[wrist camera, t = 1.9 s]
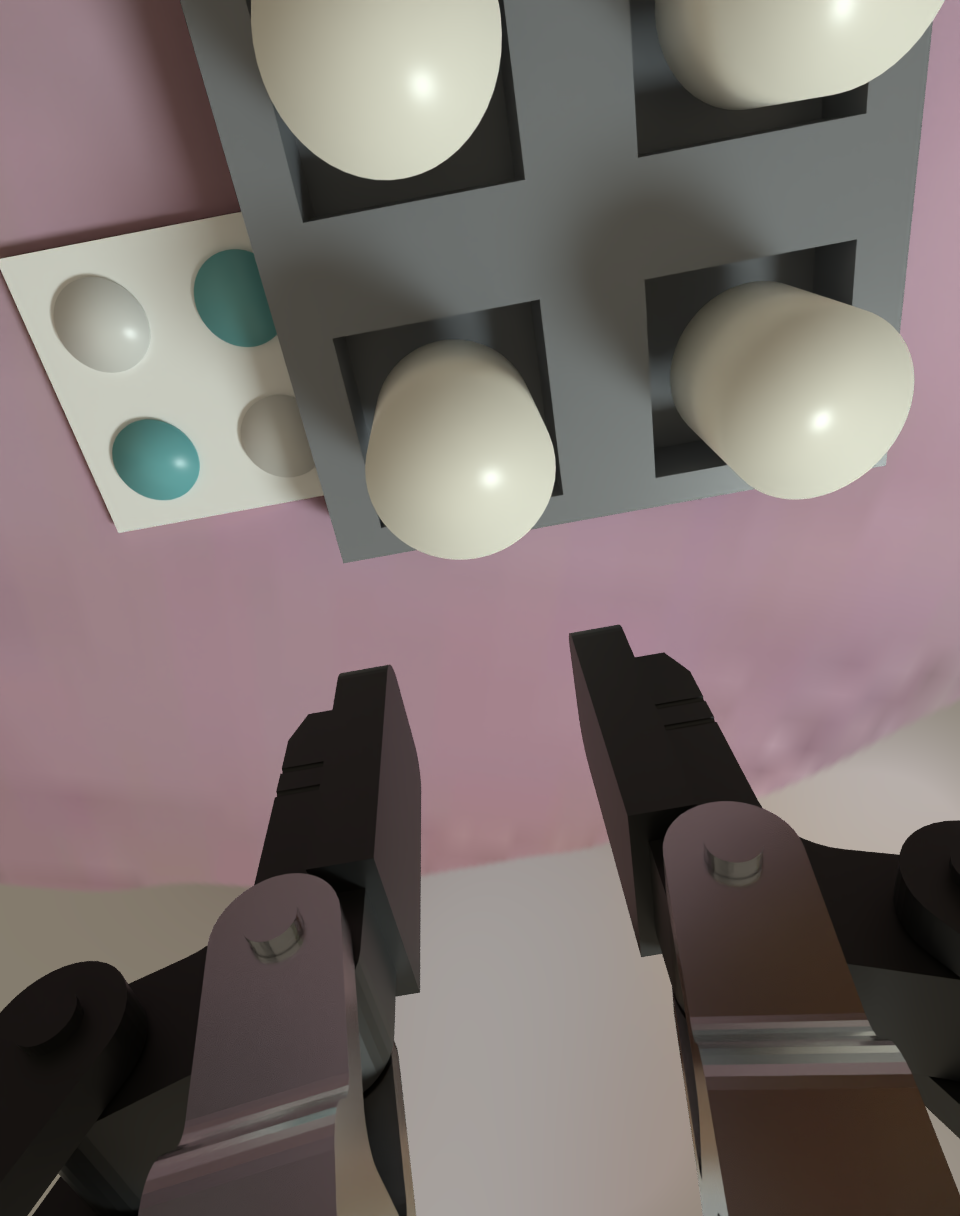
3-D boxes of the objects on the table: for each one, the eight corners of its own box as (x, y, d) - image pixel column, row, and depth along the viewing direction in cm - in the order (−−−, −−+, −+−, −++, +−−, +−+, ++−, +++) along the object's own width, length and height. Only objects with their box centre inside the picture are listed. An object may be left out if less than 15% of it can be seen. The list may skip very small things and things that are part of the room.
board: (351, 526, 28) (343, 563, 25) (183, -77, 20) (146, -114, 17) (842, 437, 28) (885, 465, 25) (890, -223, 19) (965, -285, 16)
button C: (394, 507, 25) (389, 573, 21) (357, 355, 22) (343, 397, 18) (542, 480, 24) (565, 542, 20) (521, 325, 22) (542, 360, 18)
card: (122, 528, 28) (117, 534, 27) (2, 258, 23) (-7, 260, 23) (367, 483, 27) (366, 488, 27) (295, 201, 23) (292, 202, 22)
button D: (673, 457, 24) (721, 514, 20) (666, 297, 22) (720, 327, 18) (824, 429, 24) (903, 481, 20) (834, 266, 22) (926, 288, 18)
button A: (318, 193, 20) (292, 200, 16) (262, -41, 18) (214, -100, 14) (499, 158, 20) (517, 156, 16) (467, -82, 18) (480, -155, 14)
